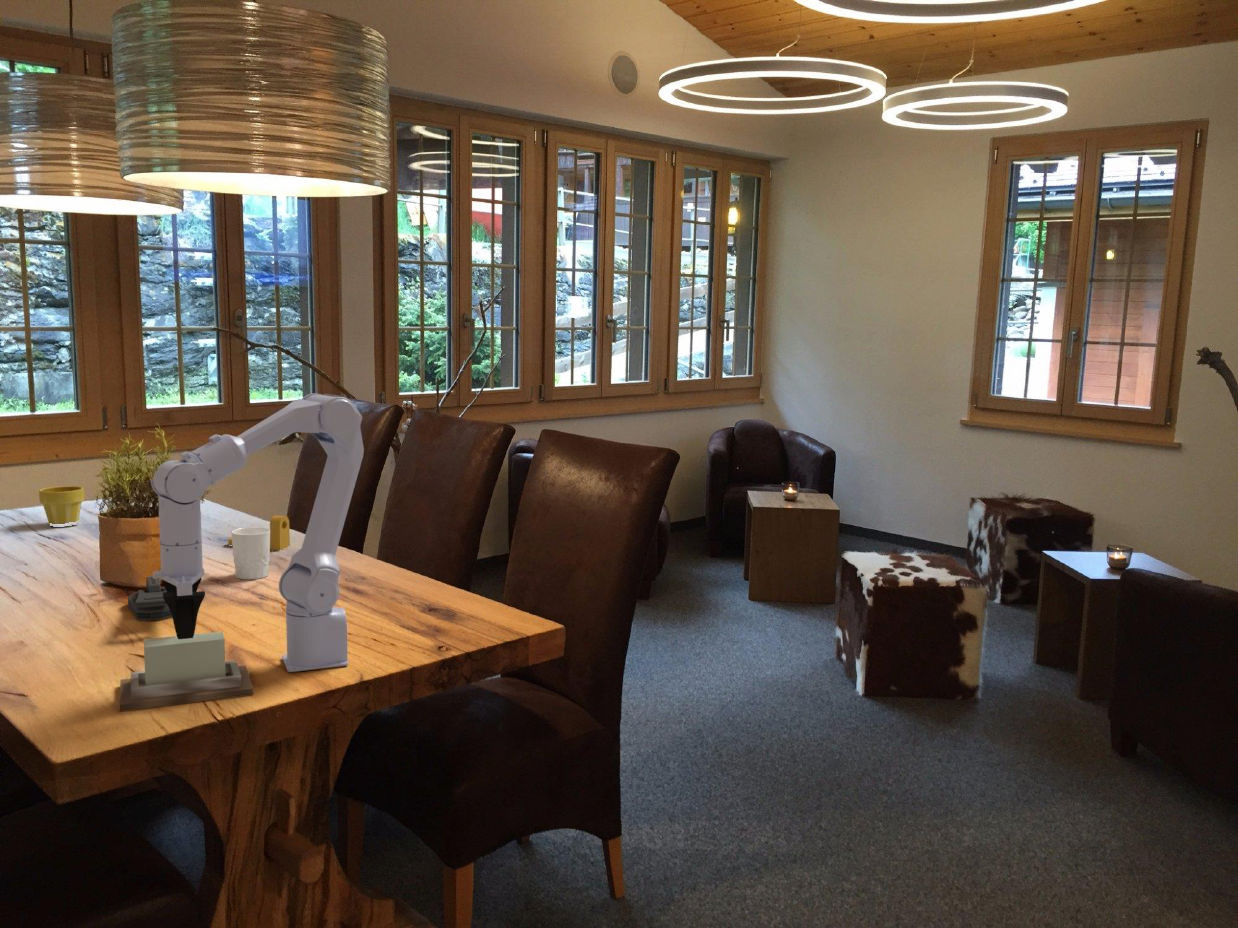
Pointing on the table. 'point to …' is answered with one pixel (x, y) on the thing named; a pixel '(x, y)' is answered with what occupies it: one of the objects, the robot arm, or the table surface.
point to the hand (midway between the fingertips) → (184, 630)
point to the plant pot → (62, 503)
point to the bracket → (277, 533)
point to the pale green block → (184, 658)
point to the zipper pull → (149, 602)
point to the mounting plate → (184, 689)
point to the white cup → (251, 552)
